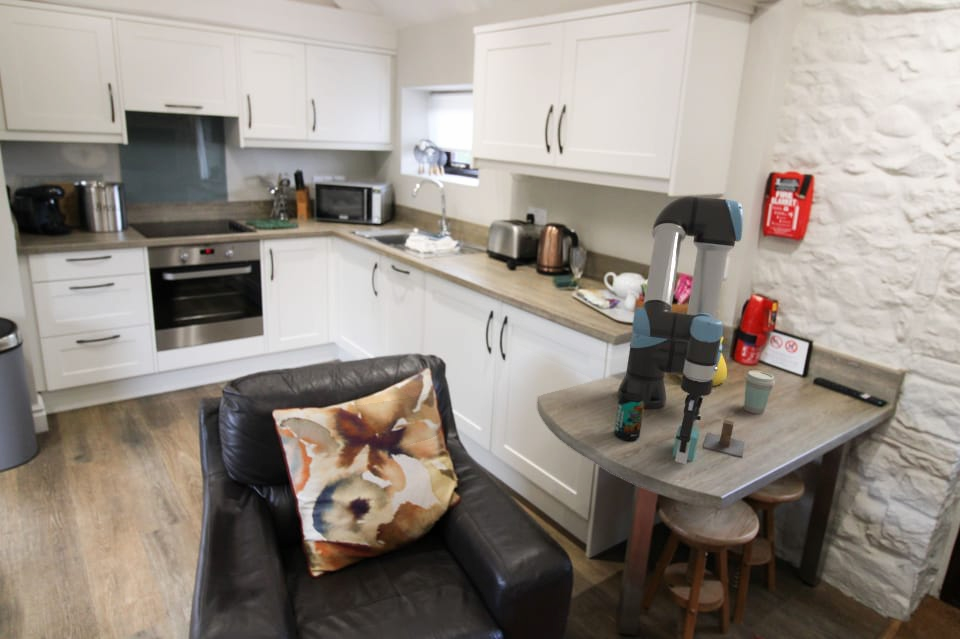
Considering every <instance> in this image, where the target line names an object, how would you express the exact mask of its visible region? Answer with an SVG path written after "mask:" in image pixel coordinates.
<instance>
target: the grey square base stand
mask: <svg viewBox="0 0 960 639" xmlns="http://www.w3.org/2000/svg"><path fill="white" fill-rule="evenodd" d="M734 424H735V421H733V420H728V419H723V424H722V427H721V433H720V434H719V435H718V434H716V433H711V432H707V435H706V437H705V440H704V444H703V446H702V449H707V450H710V451H714V452H717V453H723V454H726V455H729V456H730V455H731V456H734V457H737V458H743V456H744V449H745V440H741V439H736V438H732V434H733V430H734Z"/></svg>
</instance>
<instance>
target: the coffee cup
mask: <svg viewBox="0 0 960 639" xmlns="http://www.w3.org/2000/svg"><path fill="white" fill-rule="evenodd" d="M775 383H776V381H775V376H774V375H773V374H771V373H769V372H767V371H761V370H748V373H747V374H746V375H745V390H744V391H745V392H744V393H745V394H744V401H743V402H744V405H743V407H744V410H745V411H747V412H749V413H752V414H756V415H760V414H761V415H762V414H764V413H765V410H766V406H767V404H768V402H769V398H770V395H771V392H772V390H773V388H774V385H775Z"/></svg>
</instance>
